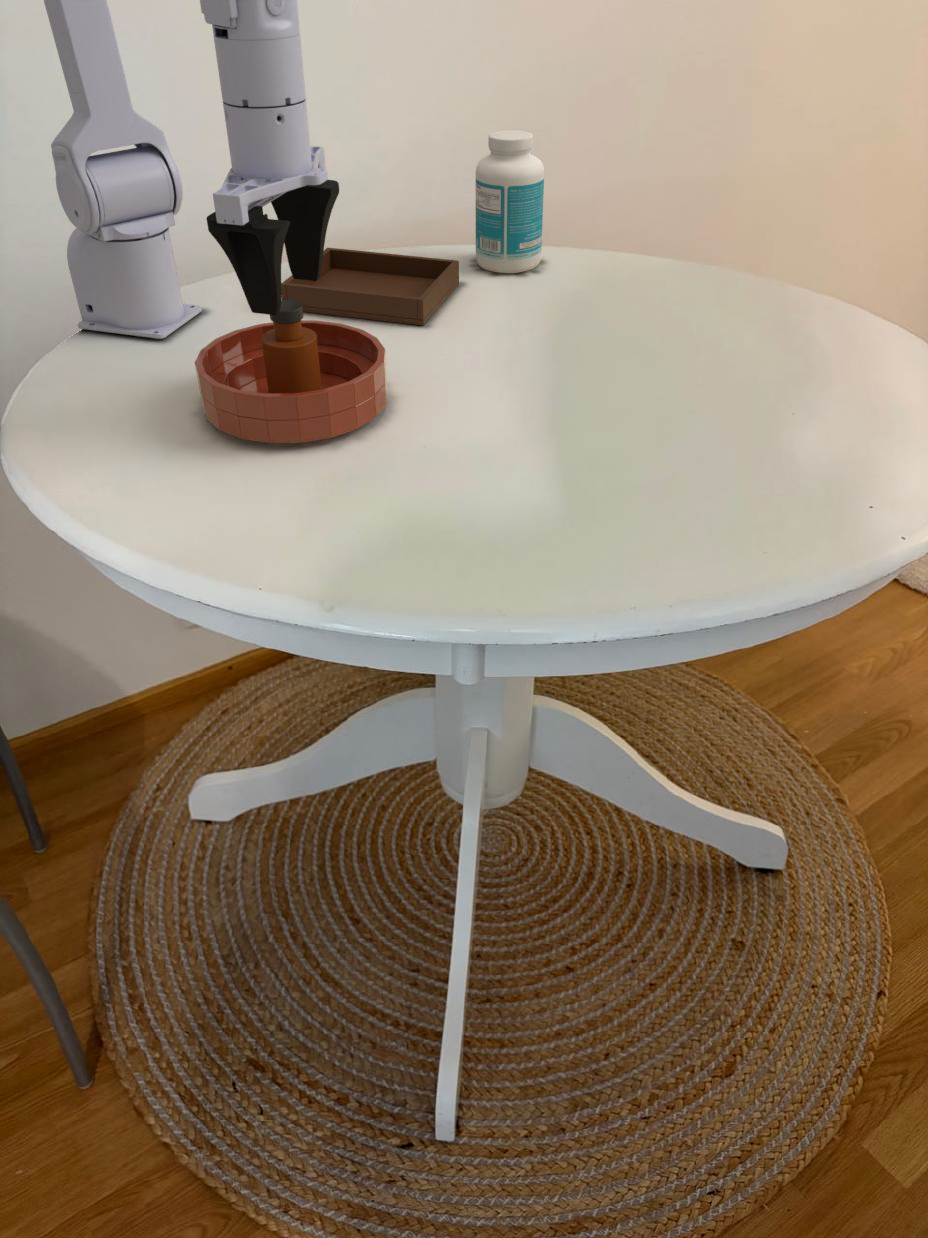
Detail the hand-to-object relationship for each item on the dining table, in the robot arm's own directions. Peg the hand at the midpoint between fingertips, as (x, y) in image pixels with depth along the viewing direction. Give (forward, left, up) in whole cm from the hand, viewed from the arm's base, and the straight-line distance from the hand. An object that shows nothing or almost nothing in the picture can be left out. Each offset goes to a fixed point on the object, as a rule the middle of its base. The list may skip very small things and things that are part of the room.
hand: (286, 294), depth 75 cm
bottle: (0, 0, -9) cm, 9 cm away
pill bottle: (+8, +40, -10) cm, 42 cm away
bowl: (0, 0, -9) cm, 9 cm away
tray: (-3, +26, -9) cm, 28 cm away
